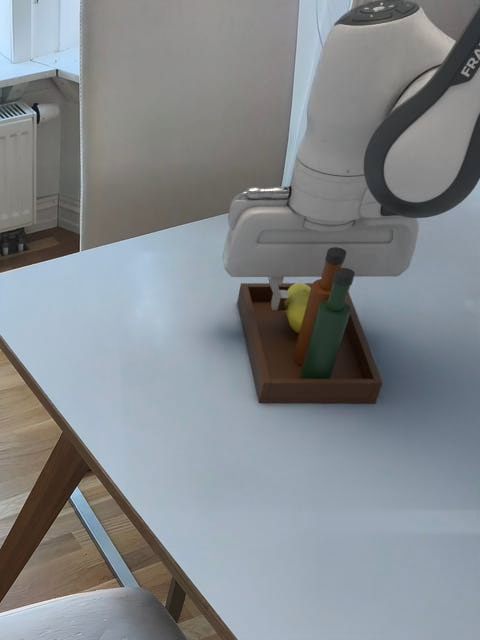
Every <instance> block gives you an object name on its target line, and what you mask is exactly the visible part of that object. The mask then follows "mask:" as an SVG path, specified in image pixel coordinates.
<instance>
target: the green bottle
mask: <svg viewBox="0 0 480 640" xmlns="http://www.w3.org/2000/svg"><path fill="white" fill-rule="evenodd" d="M354 275H355V273H354V271H353V270H351V269H348V268H339V269H337V270H336V271H335V274H334V277H333V285H332V288H331V292H330V296H329V299H328V300H325V301H323V302H321V303H320V304H319V307H318V311H317V315H316V318H315V322H314V326H313V329H312V333H311V337H310V341H309V344H308V348H307V352H306V355H305V359H304V363H303V366H302V370H301V374H300V377H299V379H330V377H331V374H332V371H333V367H334V364H335V361H336V357H337V354H338V351H339V347H340V344H341V341H342V338H343V334H344V331H345V328H346V324H347V321H348V318H349V314H350V311H351V308H350V306H349V305H348V304H347V303H345V302H346V298H347V295H348V292H350V288H351V286H352V285H351V284H353V282H354V279H355V277H354ZM350 285H351V286H350Z"/></svg>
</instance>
